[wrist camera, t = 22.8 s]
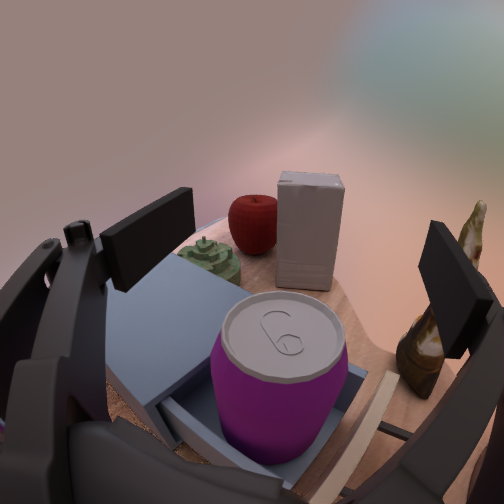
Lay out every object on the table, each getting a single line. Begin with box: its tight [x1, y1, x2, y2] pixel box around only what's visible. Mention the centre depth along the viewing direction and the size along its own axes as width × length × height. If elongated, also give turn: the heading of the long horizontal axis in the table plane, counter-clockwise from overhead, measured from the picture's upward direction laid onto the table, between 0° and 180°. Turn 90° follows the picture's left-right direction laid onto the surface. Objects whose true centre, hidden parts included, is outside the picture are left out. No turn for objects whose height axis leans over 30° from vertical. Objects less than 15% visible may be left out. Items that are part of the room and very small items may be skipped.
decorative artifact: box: [177, 236, 241, 286], centre depth 39 cm, size 10×7×10 cm
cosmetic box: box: [276, 171, 345, 291], centre depth 38 cm, size 8×7×16 cm
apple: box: [228, 195, 278, 255], centre depth 47 cm, size 10×10×10 cm
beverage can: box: [210, 291, 348, 465], centre depth 16 cm, size 8×8×12 cm
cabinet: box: [105, 252, 255, 451], centre depth 25 cm, size 17×14×9 cm
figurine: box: [396, 200, 487, 399], centre depth 20 cm, size 5×8×20 cm, turn 8°
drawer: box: [155, 362, 414, 504], centre depth 17 cm, size 20×12×7 cm, turn 52°
